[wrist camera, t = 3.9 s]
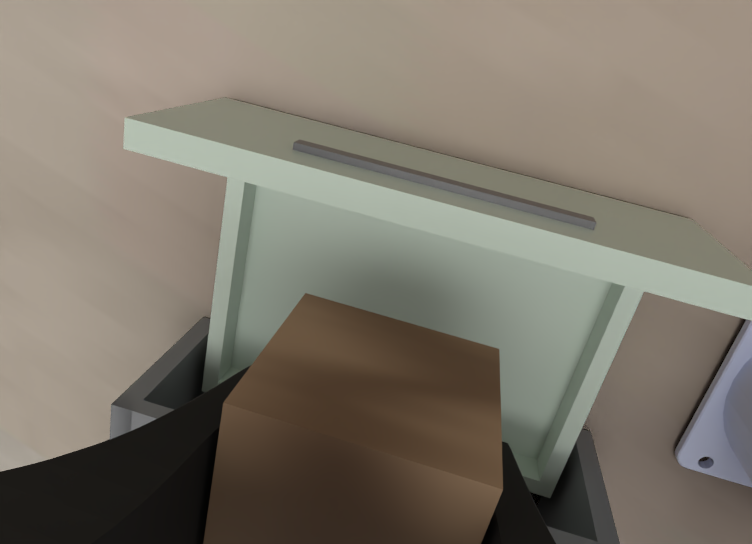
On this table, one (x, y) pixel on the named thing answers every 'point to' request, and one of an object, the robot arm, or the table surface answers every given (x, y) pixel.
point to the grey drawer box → (184, 383)
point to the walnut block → (359, 435)
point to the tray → (435, 257)
